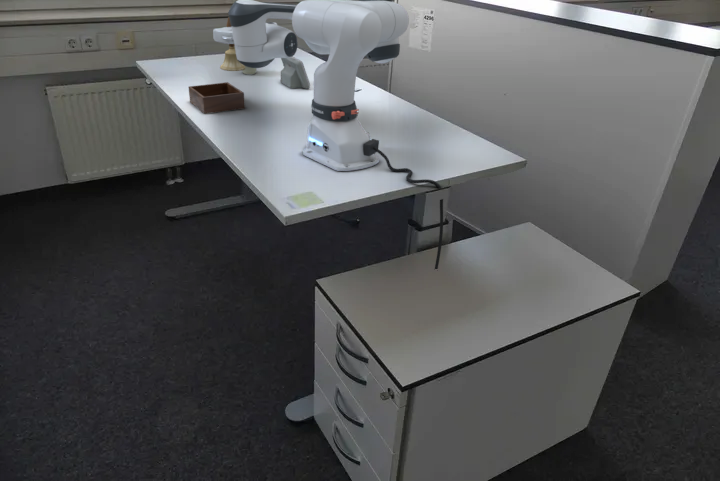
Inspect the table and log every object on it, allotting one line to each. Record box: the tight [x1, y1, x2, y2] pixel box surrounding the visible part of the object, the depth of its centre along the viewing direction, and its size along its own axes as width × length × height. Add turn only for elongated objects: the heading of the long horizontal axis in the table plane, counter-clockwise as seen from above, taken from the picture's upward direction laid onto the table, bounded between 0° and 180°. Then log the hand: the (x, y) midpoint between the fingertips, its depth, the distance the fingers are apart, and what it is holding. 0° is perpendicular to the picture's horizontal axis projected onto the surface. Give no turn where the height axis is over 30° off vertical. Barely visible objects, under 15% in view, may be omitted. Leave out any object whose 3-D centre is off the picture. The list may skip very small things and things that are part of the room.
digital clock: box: [280, 56, 311, 90], centre depth 212 cm, size 16×9×11 cm, turn 20°
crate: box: [188, 81, 246, 115], centre depth 187 cm, size 14×14×5 cm
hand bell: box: [219, 16, 245, 72], centre depth 182 cm, size 8×8×16 cm
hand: (228, 29), depth 180 cm, fingers closed on hand bell, 2 cm apart
